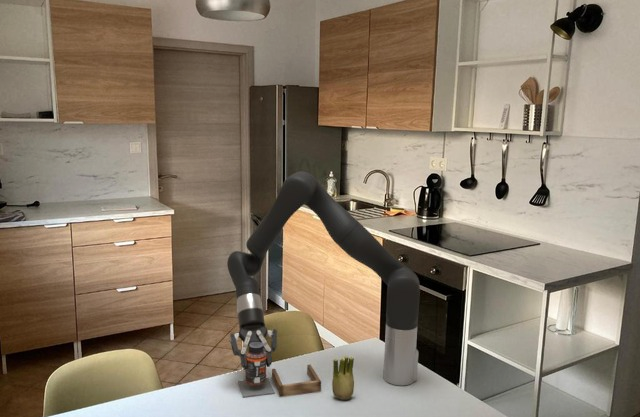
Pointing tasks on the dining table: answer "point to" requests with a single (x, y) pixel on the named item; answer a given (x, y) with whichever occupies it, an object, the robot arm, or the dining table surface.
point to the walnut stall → (297, 384)
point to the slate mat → (255, 389)
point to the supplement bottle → (256, 364)
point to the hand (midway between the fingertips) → (257, 367)
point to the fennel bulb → (343, 378)
